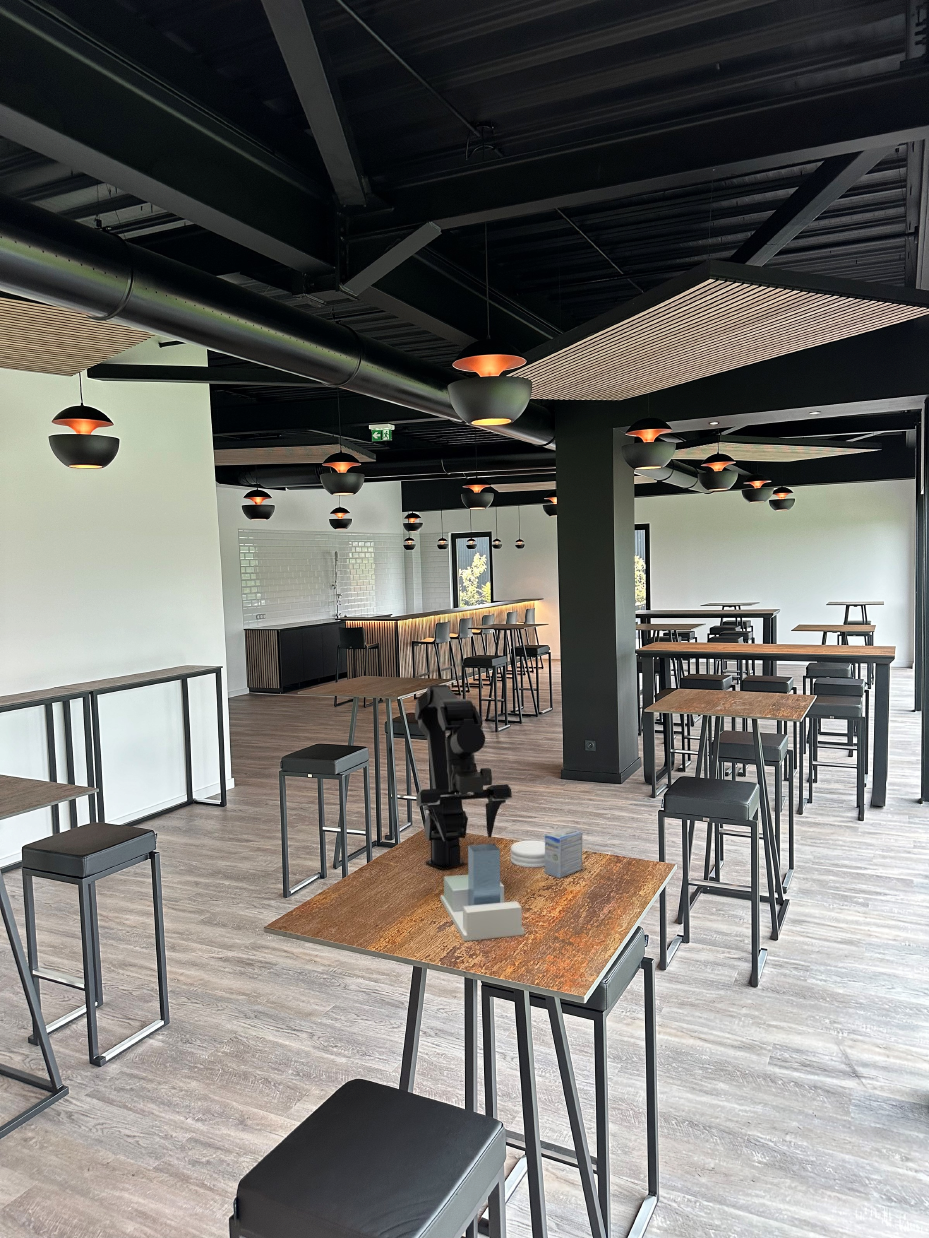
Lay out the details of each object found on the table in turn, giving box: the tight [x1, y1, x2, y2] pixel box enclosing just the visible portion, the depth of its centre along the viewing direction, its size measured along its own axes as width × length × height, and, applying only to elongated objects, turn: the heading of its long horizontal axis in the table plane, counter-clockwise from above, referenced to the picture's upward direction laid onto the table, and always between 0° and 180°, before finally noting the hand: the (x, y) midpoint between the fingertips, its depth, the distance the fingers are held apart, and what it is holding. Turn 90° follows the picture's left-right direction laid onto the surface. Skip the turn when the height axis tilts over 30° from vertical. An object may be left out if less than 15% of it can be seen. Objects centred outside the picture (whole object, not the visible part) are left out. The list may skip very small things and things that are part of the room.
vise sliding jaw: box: [443, 874, 505, 912], centre depth 159 cm, size 8×10×4 cm
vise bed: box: [440, 894, 525, 942], centre depth 154 cm, size 20×11×5 cm, turn 14°
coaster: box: [509, 840, 545, 869], centre depth 187 cm, size 10×10×4 cm
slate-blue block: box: [467, 843, 501, 906], centre depth 151 cm, size 4×5×13 cm
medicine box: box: [544, 827, 583, 879], centre depth 179 cm, size 8×4×9 cm, turn 134°
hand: (467, 839), depth 164 cm, fingers open, 9 cm apart
